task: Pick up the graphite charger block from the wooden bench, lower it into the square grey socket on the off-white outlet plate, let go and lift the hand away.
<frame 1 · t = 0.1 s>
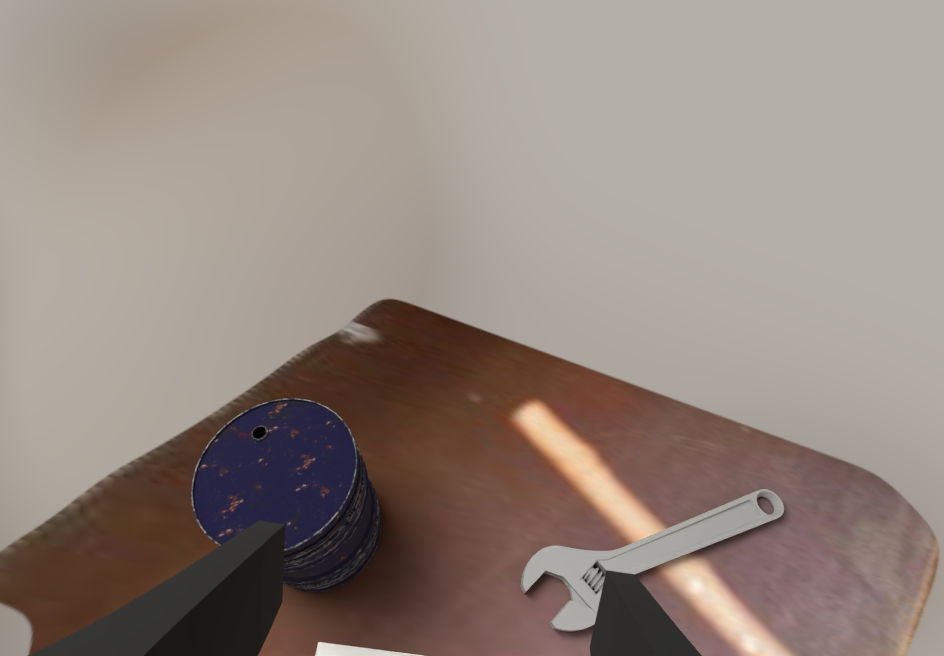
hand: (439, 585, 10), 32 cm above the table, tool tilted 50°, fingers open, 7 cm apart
dark blue barrel: (326, 529, 41), on the table
adjustable wrench: (658, 559, 41), on the table
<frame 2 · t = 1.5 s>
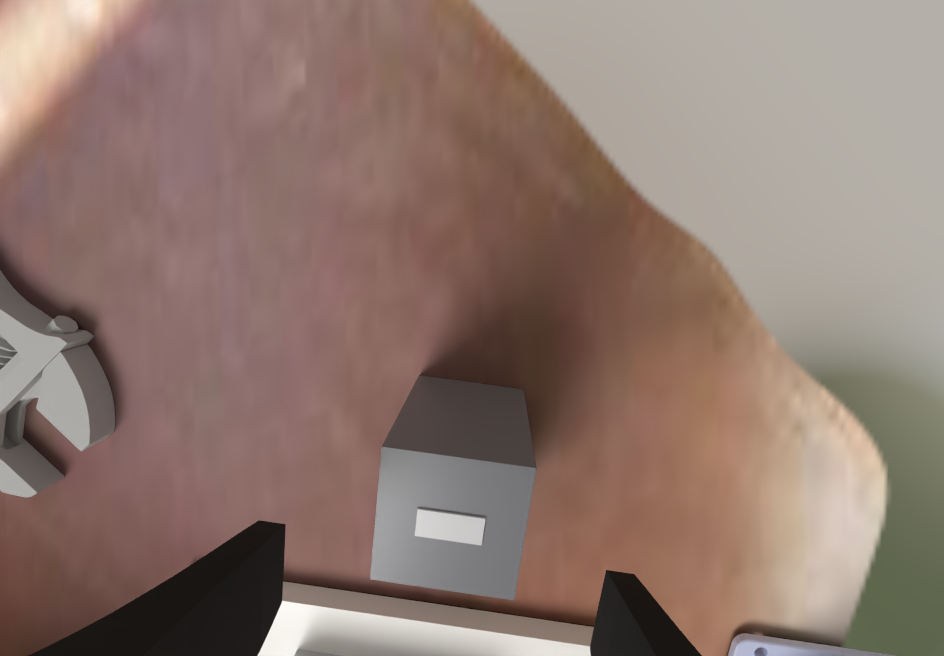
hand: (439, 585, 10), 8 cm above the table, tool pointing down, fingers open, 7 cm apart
charger: (465, 430, 18), on the table
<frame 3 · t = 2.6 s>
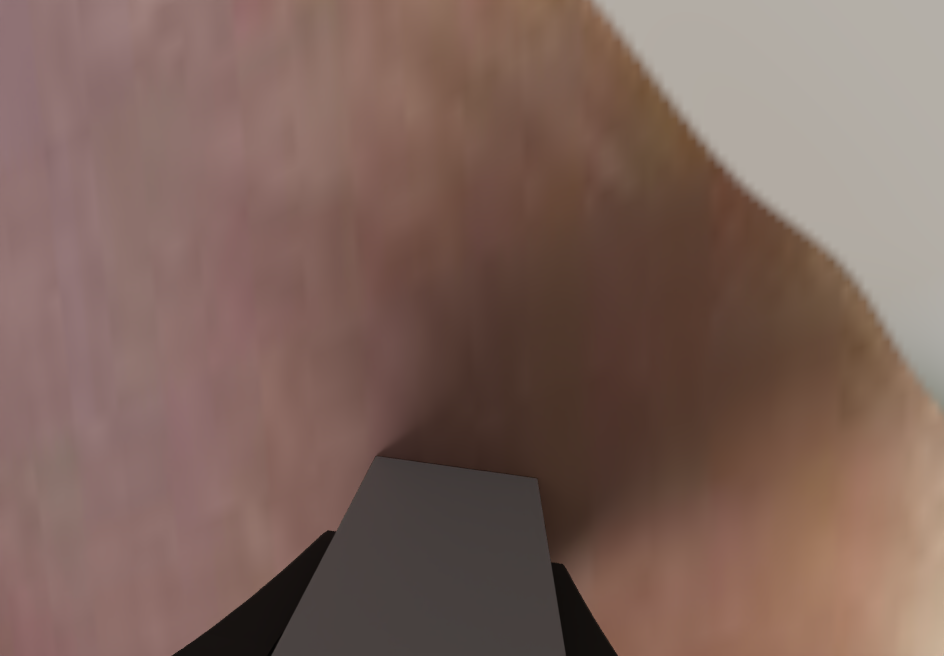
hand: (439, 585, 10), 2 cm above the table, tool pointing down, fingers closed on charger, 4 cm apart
charger: (447, 538, 12), on the table, touching gripper
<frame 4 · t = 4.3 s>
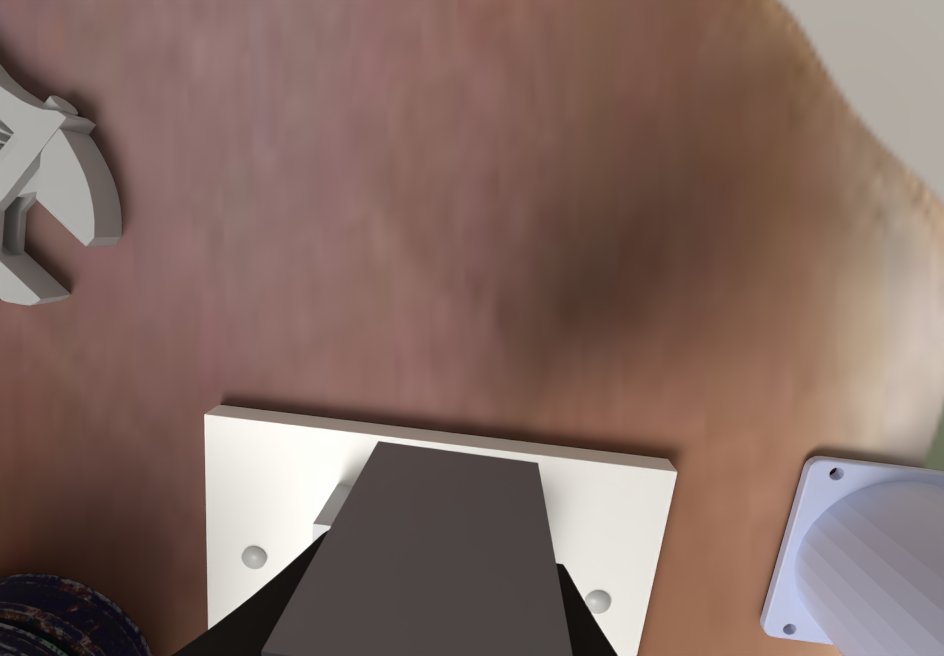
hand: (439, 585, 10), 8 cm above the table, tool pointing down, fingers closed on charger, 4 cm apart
charger: (448, 523, 12), point 7 cm above the table, touching gripper
outlet plate: (427, 561, 20), on the table
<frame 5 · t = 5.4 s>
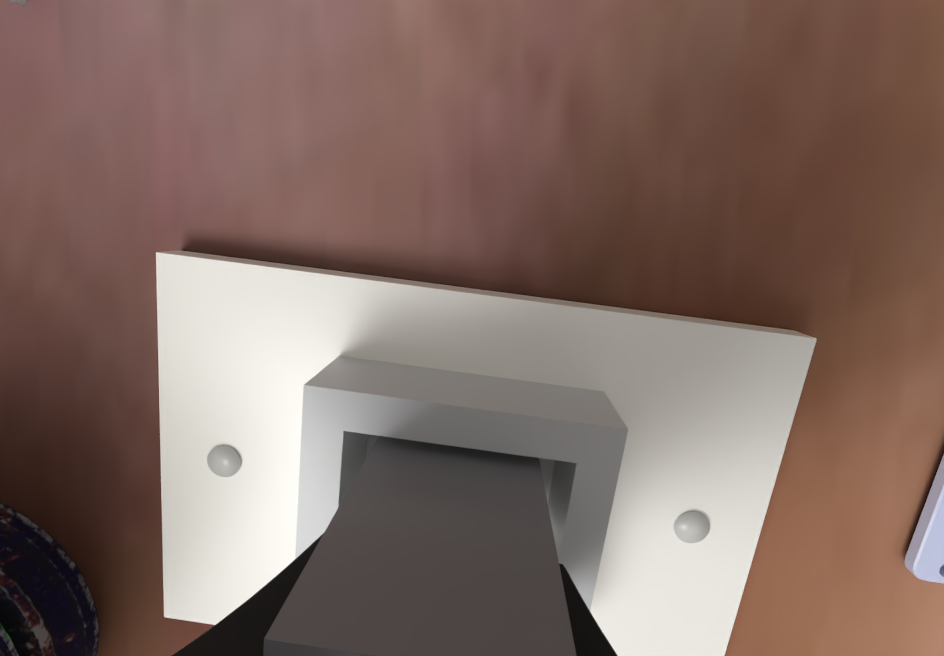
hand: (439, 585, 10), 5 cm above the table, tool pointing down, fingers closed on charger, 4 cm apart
charger: (449, 517, 12), point 3 cm above the table, touching gripper
outlet plate: (457, 475, 15), on the table
when the fingers open (4 cm above the table, at t = 5.9 s): charger drops 2 cm, resting on outlet plate.
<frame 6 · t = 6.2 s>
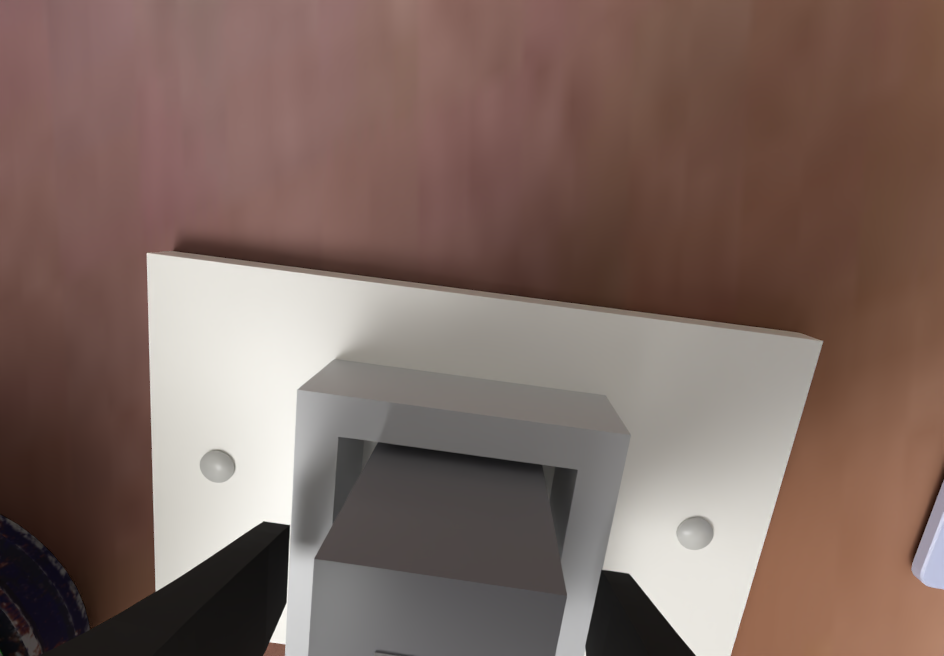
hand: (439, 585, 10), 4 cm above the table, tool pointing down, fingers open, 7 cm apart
charger: (456, 485, 14), point 1 cm above the table, touching outlet plate
outlet plate: (456, 480, 15), on the table
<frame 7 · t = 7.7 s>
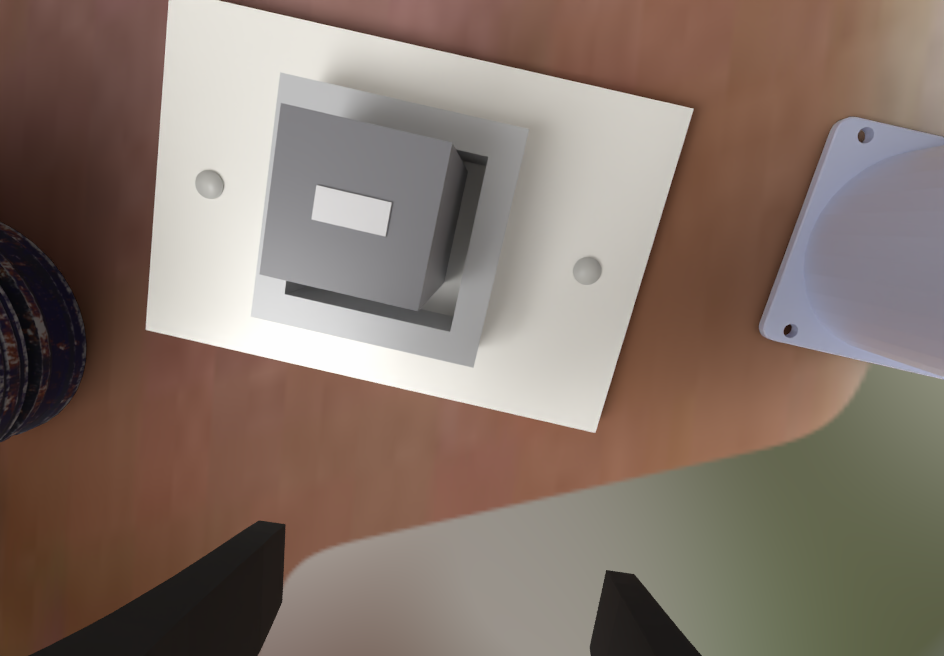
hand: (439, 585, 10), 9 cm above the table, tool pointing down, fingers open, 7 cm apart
charger: (401, 215, 17), point 1 cm above the table, touching outlet plate
outlet plate: (403, 227, 18), on the table
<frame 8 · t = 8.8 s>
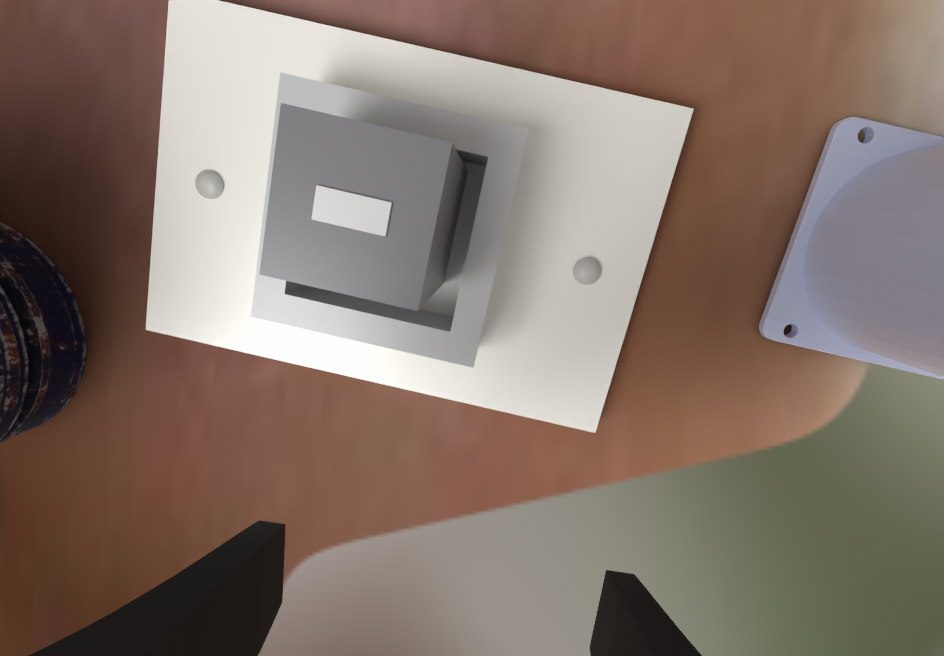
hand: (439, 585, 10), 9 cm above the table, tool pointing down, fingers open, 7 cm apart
charger: (401, 215, 17), point 1 cm above the table, touching outlet plate
outlet plate: (403, 227, 18), on the table
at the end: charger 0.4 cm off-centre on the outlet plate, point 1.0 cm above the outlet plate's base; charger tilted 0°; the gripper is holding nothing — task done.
